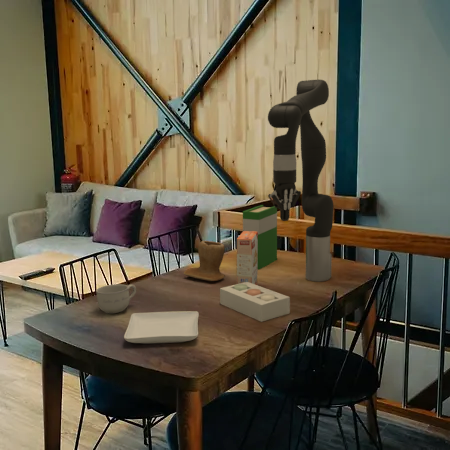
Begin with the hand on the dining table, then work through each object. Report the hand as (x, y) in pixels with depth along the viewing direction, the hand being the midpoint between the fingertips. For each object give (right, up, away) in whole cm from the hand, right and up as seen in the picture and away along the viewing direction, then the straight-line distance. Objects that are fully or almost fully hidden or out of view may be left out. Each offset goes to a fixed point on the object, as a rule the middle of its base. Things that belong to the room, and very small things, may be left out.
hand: (284, 220), depth 190 cm
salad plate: (-38, -34, -17) cm, 54 cm away
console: (-10, -29, +2) cm, 31 cm away
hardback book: (-4, -18, +57) cm, 60 cm away
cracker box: (-11, -26, +22) cm, 35 cm away
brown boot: (-27, -23, +37) cm, 51 cm away
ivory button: (-6, -27, -5) cm, 28 cm away
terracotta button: (-10, -26, +1) cm, 28 cm away
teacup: (-56, -30, +3) cm, 63 cm away
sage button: (-14, -25, +7) cm, 30 cm away
